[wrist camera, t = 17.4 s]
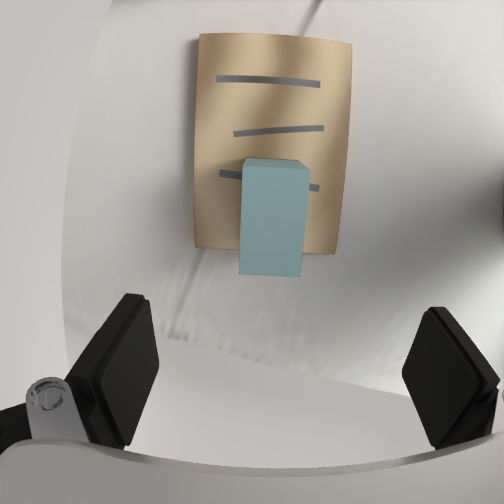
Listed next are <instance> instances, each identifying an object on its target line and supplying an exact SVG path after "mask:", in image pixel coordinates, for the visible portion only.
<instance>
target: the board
mask: <svg viewBox="0 0 504 504" xmlns="http://www.w3.org/2000/svg"><path fill="white" fill-rule="evenodd" d="M351 78H352V44H349V43H343V42H337V41H331V40H324V39H317V38H309V37H300V36H289V35H276V34H257V33H209V34H200V36H199V50H198V66H197V84H196V108H195V144H194V228H195V248H211V249H232V250H240V230H241V201H242V173H243V164H244V162H245V160H246V158H247V157H252V158H272V159H288V160H299V161H300V162H301V163H302V164H304V165H305V166H306V167H307V168H309V169H310V170H311V171H310V183H309V194H308V205H307V216H306V226H305V236H304V245H303V253H315V254H335V251H336V244H337V237H338V230H339V222H340V215H341V207H342V198H343V189H344V180H345V170H346V159H347V148H348V135H349V120H350V102H351Z"/></svg>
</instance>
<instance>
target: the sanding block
mask: <svg viewBox="0 0 504 504" xmlns="http://www.w3.org/2000/svg"><path fill="white" fill-rule="evenodd" d="M310 171H311V170H310V169H309V168H307V167H306V166H305V165H304V164H302V163H301V162H300V161H299V160H288V159H272V158H252V157H247V158H246V160H245V162H244V164H243V173H242V201H241V230H240V263H239V274H250V275H271V276H294V277H300V271H301V263H302V254H303V245H304V236H305V226H306V216H307V205H308V194H309V183H310Z"/></svg>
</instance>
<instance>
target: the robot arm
mask: <svg viewBox="0 0 504 504" xmlns="http://www.w3.org/2000/svg"><path fill="white" fill-rule="evenodd" d="M158 369H159V358H158V352H157V347H156V341H155V335H154V329H153V322H152V315H151V309H150V302H149V300H146V299H145V298H144V296H143V295H139V294H130V293H126V294H125V295H124V296H123V298H122V299H121V300H120V302H119V303H118V305H117V306H116V307H115V309H114V310H113V311H112V313H111V314H110V315H109V317H108V318H107V320H106V321H105V322H104V324H103V325H102V327H101V328H100V329H99V330H98V331H97V332H96V334H95V335H94V336H93V338H92V339H91V341H90V342H89V344H88V345H87V347H86V348H85V349H84V351H83V352H82V354H81V355H80V357H79V358H78V360H77V361H76V363H75V364H74V366H73V367H72V369H71V370H70V372H69V373H68V375H67V376H66V378H65V379H64V380H62V379H60V378H57V377H48V378H43V379H40V380H38V381H37V382H36V383H34V384H32V385H31V387H30V388H29V389H28V391H27V394H26V403H23V404H20V405H17V406H14V407H10V408H7V409H4V410H1V411H0V504H504V385H503V386H502V387H501V388H500V389H499V390H498V389H497V385H498V383H499V382H500V378H499V377H498V376H497V374H496V373H495V371H494V370H493V368H492V367H491V366H490V364H489V363H488V361H487V360H486V359H485V357H484V356H483V355H482V353H481V352H480V351H479V349H478V348H477V347H476V345H475V344H474V343H473V341H472V340H471V339H470V337H469V336H468V335H467V333H466V332H465V331H464V330H463V328H462V327H461V326H460V325H459V323H458V322H457V321H456V320H455V318H454V317H453V316H452V315H451V313H450V312H449V311H448V310H447V309H446V308H445V307H430V308H429V309H428V310H427V311H426V312H425V313H424V314H423V317H422V320H421V322H420V325H419V328H418V331H417V333H416V336H415V339H414V341H413V344H412V346H411V349H410V351H409V354H408V356H407V359H406V361H405V363H404V366H403V368H402V377H403V380H404V382H405V384H406V387H407V389H408V391H409V393H410V396H411V398H412V400H413V403H414V405H415V407H416V410H417V412H418V414H419V417H420V419H421V422H422V424H423V427H424V429H425V432H426V435H427V437H428V440H429V442H430V444H431V446H433V447H435V451H431V452H426V453H422V454H418V455H413V456H407V457H402V458H397V459H391V460H385V461H378V462H371V463H364V464H355V465H347V466H334V467H319V468H288V469H287V468H286V469H277V468H275V469H273V468H245V467H244V468H243V467H229V466H218V465H208V464H199V463H192V462H185V461H178V460H172V459H165V458H159V457H153V456H149V455H143V454H138V453H133V452H129V451H125V450H124V447H125V445H126V446H129V445H130V444H131V442H132V439H133V436H134V433H135V431H136V428H137V425H138V422H139V420H140V417H141V414H142V411H143V409H144V406H145V404H146V401H147V398H148V396H149V393H150V390H151V388H152V385H153V383H154V380H155V377H156V375H157V372H158Z"/></svg>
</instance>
